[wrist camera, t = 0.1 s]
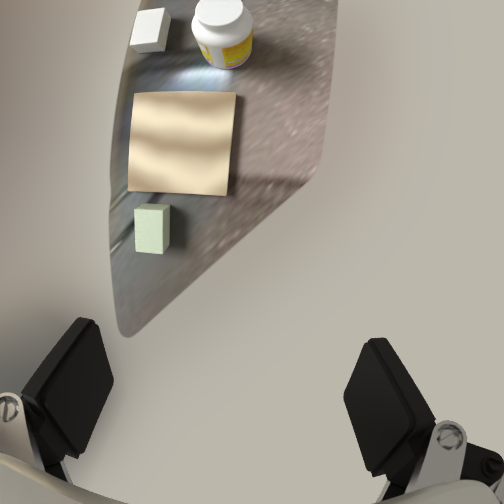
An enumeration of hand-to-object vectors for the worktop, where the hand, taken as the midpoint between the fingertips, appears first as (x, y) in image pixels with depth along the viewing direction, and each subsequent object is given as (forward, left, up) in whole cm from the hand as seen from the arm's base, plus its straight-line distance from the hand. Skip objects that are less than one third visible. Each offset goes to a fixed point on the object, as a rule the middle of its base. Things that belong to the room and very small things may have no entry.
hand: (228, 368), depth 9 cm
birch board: (-8, -9, -31) cm, 33 cm away
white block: (-25, -15, -31) cm, 43 cm away
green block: (+4, -12, -31) cm, 34 cm away
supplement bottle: (-22, -4, -31) cm, 38 cm away
